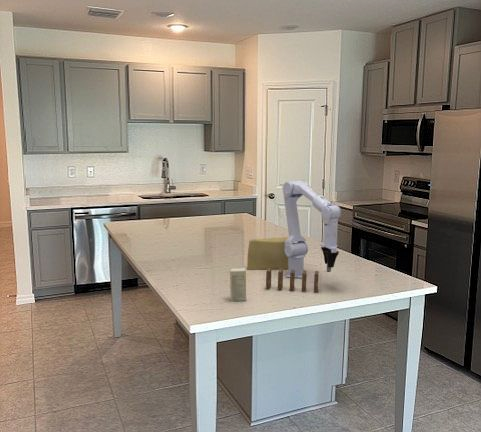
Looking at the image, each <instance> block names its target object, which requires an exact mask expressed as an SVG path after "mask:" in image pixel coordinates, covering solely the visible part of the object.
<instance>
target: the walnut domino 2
mask: <svg viewBox="0 0 481 432" xmlns="http://www.w3.org/2000/svg"><path fill="white" fill-rule="evenodd" d="M283 286H284V269H278V272H277V291H280V292H282V290H283V288H284V287H283Z"/></svg>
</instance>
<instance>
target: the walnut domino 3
mask: <svg viewBox="0 0 481 432" xmlns="http://www.w3.org/2000/svg"><path fill="white" fill-rule="evenodd" d="M295 279H296V278H295V270H292V269H291V272H290V277H289V292H294V291H295Z"/></svg>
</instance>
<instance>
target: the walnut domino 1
mask: <svg viewBox="0 0 481 432" xmlns="http://www.w3.org/2000/svg"><path fill="white" fill-rule="evenodd" d="M271 288H272V270H271V268H268V269H267V270H266V271H265V290H266V291H267V290H268V291H270V290H271Z"/></svg>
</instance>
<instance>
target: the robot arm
mask: <svg viewBox="0 0 481 432" xmlns="http://www.w3.org/2000/svg"><path fill="white" fill-rule="evenodd" d="M282 193H283V201H284V208H285V213H286V214H285V215H286V223H287V230H288V231H287V232H288V237H289V238H288V239H287V240H286V241H285V254H286V255H287V257H288V269H287V273H286V276H285V277H286V278H290V272H291V269H292V270H295V279H297V278H298V279H302V272H303V270H305V268H304V266H305V265H304V264H305V259H304V258H306V255H307V254H308V252H309V247H308V244H307V240H306V238H305V237H304V236H303V235H302V234H301V228H300V221H299V211H298V204H297V201H298V200H299V199H301V197H302V196H304V197H305V198H307V200H309V201H310V202H311V203H312V207H314V208H315V209H316V210H317V211H318V212H320V215H321V217H322V222H323V235H322V236H323V239H322V240H323V241H322V243H320V244H319V246H320V249H321V252H322V253H323V260H324V264H325V265H327V263H328V267H331V268H335V267H334V266H335V264H336V259H337V257H338V255H339V253H340V252H339V251H337V248H338V227H339V226H338V225H339V219H340V217H341V216H342V209H341V207H340V206H339V205H338V204H332V201H331V202H330V201H329V200H328V199H326V198H325V196H324V195H318V194H317V193H315V191H314V190H313V189H311V187H309V183H308V182H307V181H305V180H302V179H300V180H287V181H285V182H284V183H283V186H282ZM293 242H294V243H293Z"/></svg>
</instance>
